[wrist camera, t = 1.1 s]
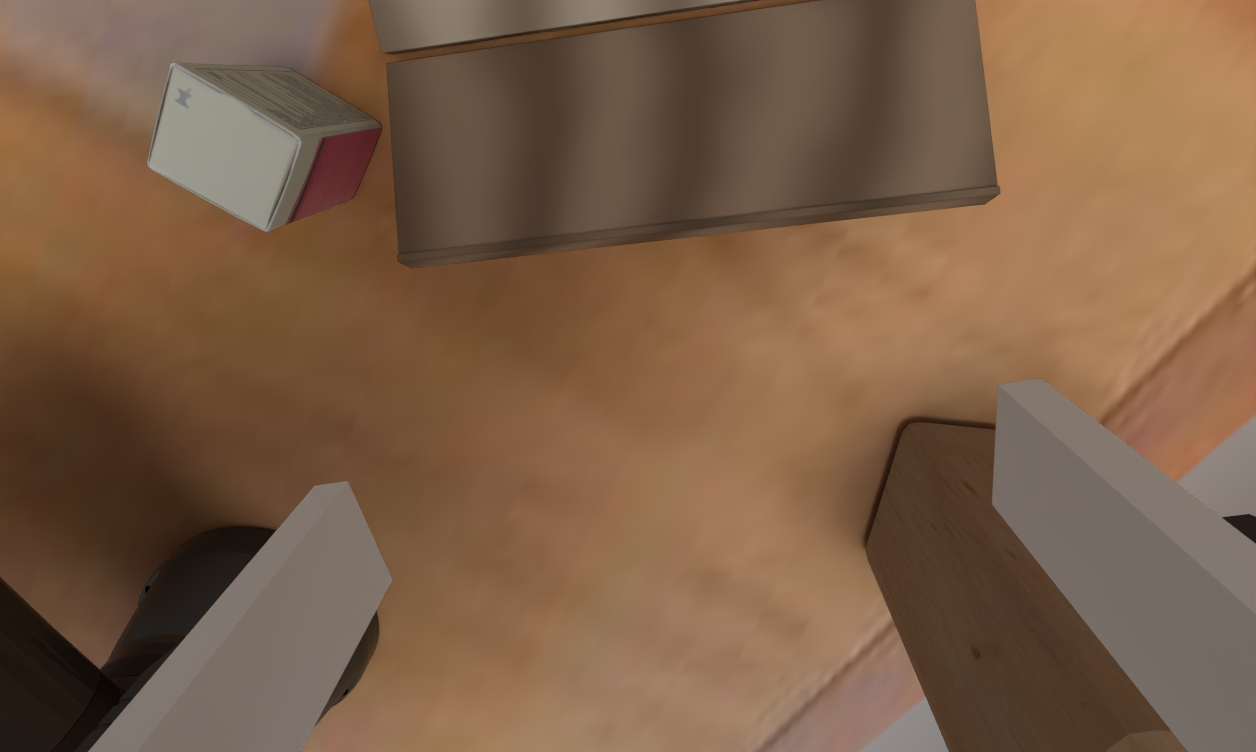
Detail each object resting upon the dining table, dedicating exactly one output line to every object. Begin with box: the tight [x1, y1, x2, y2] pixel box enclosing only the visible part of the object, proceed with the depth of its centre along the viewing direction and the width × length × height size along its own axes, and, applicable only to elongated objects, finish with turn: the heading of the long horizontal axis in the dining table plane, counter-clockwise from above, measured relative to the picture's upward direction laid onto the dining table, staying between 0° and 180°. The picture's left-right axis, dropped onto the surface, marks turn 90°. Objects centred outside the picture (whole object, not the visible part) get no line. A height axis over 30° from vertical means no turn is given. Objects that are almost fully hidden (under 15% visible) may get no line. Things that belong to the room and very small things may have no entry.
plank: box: [386, 0, 1000, 268], centre depth 27 cm, size 25×9×1 cm
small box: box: [147, 63, 381, 232], centre depth 27 cm, size 5×4×8 cm
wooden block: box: [866, 422, 1188, 752], centre depth 28 cm, size 10×10×20 cm
